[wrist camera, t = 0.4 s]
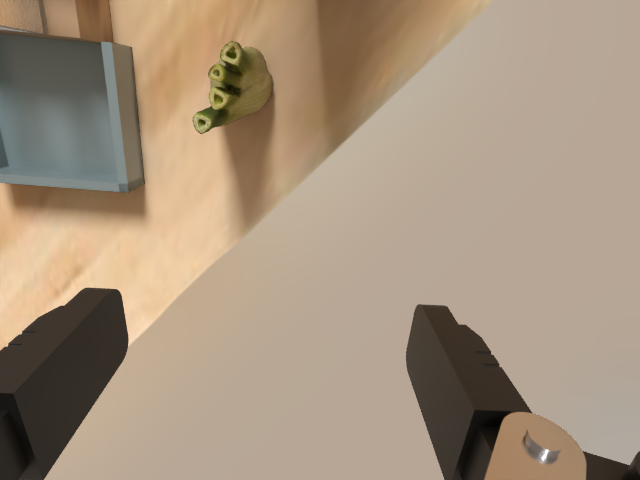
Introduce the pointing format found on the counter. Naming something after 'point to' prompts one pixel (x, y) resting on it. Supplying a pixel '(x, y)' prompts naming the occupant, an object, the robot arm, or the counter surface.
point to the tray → (68, 114)
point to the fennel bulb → (235, 87)
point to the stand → (76, 21)
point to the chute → (23, 16)
